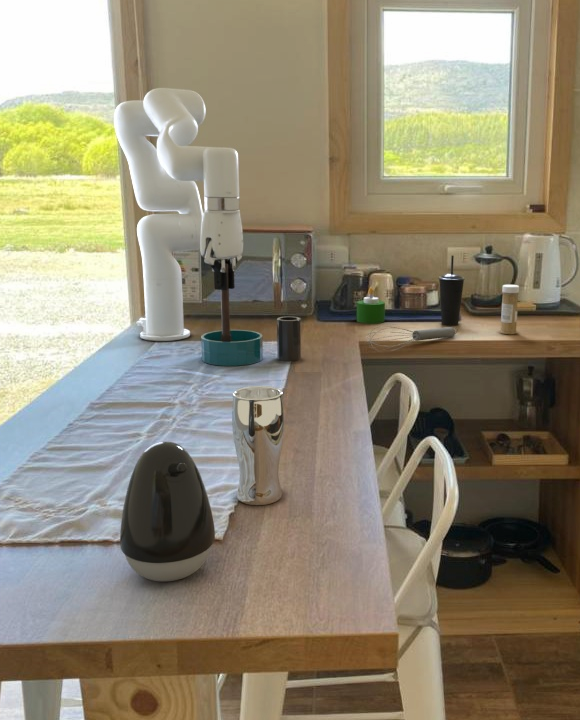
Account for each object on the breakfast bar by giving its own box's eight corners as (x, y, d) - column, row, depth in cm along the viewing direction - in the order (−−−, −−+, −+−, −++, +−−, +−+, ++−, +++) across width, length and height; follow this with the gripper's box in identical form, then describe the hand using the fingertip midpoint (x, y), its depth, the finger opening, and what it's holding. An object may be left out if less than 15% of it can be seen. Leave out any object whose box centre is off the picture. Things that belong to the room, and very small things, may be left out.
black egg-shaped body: (141, 604, 84) (133, 467, 80) (110, 564, 92) (101, 438, 88) (231, 577, 90) (228, 448, 86) (194, 541, 98) (190, 422, 94)
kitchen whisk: (465, 337, 218) (466, 314, 216) (378, 357, 194) (378, 331, 193) (448, 333, 222) (449, 311, 220) (360, 353, 198) (360, 327, 197)
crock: (273, 361, 187) (272, 319, 185) (285, 356, 192) (285, 315, 189) (292, 364, 185) (292, 321, 182) (305, 359, 189) (305, 317, 187)
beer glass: (224, 495, 111) (221, 391, 108) (265, 483, 116) (263, 382, 113) (253, 511, 107) (251, 403, 103) (295, 497, 111) (294, 393, 108)
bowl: (189, 363, 183) (188, 337, 182) (226, 351, 196) (225, 327, 194) (239, 371, 178) (238, 344, 176) (274, 358, 190) (274, 333, 188)
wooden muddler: (219, 353, 184) (217, 264, 179) (224, 351, 185) (222, 263, 180) (228, 354, 183) (225, 264, 178) (233, 353, 184) (230, 264, 180)
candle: (380, 324, 233) (381, 290, 231) (353, 322, 235) (353, 288, 233) (387, 319, 241) (388, 286, 239) (360, 317, 243) (361, 284, 241)
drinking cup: (450, 320, 241) (452, 253, 237) (468, 324, 236) (471, 256, 231) (431, 323, 236) (433, 254, 232) (449, 327, 231) (452, 257, 226)
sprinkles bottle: (519, 333, 224) (522, 285, 221) (507, 335, 222) (510, 287, 218) (508, 330, 228) (511, 283, 225) (496, 332, 225) (499, 284, 222)
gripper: (229, 203, 185) (232, 283, 189) (184, 206, 171) (188, 292, 175) (257, 205, 182) (258, 286, 186) (213, 207, 168) (216, 295, 172)
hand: (224, 288), depth 180 cm, fingers closed on wooden muddler, 1 cm apart
